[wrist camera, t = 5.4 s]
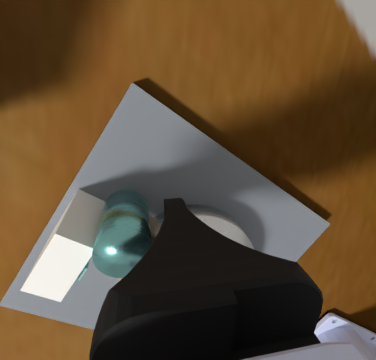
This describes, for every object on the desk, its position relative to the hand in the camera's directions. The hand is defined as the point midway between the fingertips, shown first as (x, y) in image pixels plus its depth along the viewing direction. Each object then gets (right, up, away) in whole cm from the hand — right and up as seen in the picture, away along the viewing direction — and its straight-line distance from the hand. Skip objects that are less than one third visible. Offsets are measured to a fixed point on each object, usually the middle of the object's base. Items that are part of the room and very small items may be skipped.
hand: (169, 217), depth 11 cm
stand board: (0, -3, +5) cm, 6 cm away
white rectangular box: (-5, 0, +2) cm, 5 cm away
